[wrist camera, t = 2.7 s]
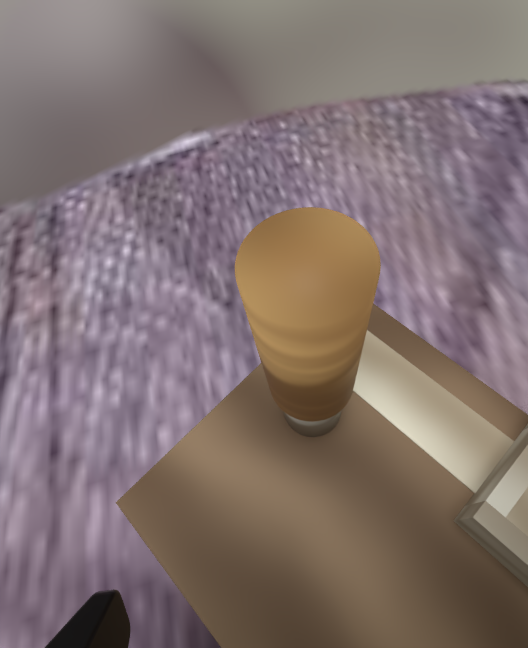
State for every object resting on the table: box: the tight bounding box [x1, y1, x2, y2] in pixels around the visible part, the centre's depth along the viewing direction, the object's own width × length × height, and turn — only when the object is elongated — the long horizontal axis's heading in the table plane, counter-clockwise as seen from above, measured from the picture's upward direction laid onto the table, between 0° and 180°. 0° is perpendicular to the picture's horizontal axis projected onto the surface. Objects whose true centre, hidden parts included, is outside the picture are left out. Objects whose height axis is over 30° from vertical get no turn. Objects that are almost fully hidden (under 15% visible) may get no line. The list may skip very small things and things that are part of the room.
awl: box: [235, 207, 381, 437], centre depth 15 cm, size 3×3×12 cm
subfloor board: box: [116, 304, 528, 648], centre depth 16 cm, size 16×23×4 cm
